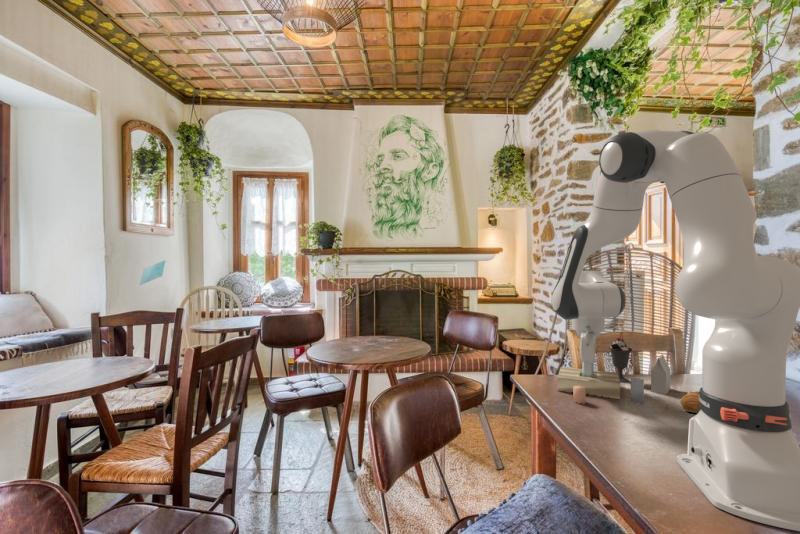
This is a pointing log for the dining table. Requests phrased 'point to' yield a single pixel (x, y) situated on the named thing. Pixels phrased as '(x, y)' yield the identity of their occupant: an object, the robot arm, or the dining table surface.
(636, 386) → the medium dowel
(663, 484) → the dining table surface
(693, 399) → the pastry
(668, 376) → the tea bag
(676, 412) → the dining table surface
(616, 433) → the dining table surface
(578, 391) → the short dowel
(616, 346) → the sundae
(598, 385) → the hole block
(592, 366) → the long dowel
